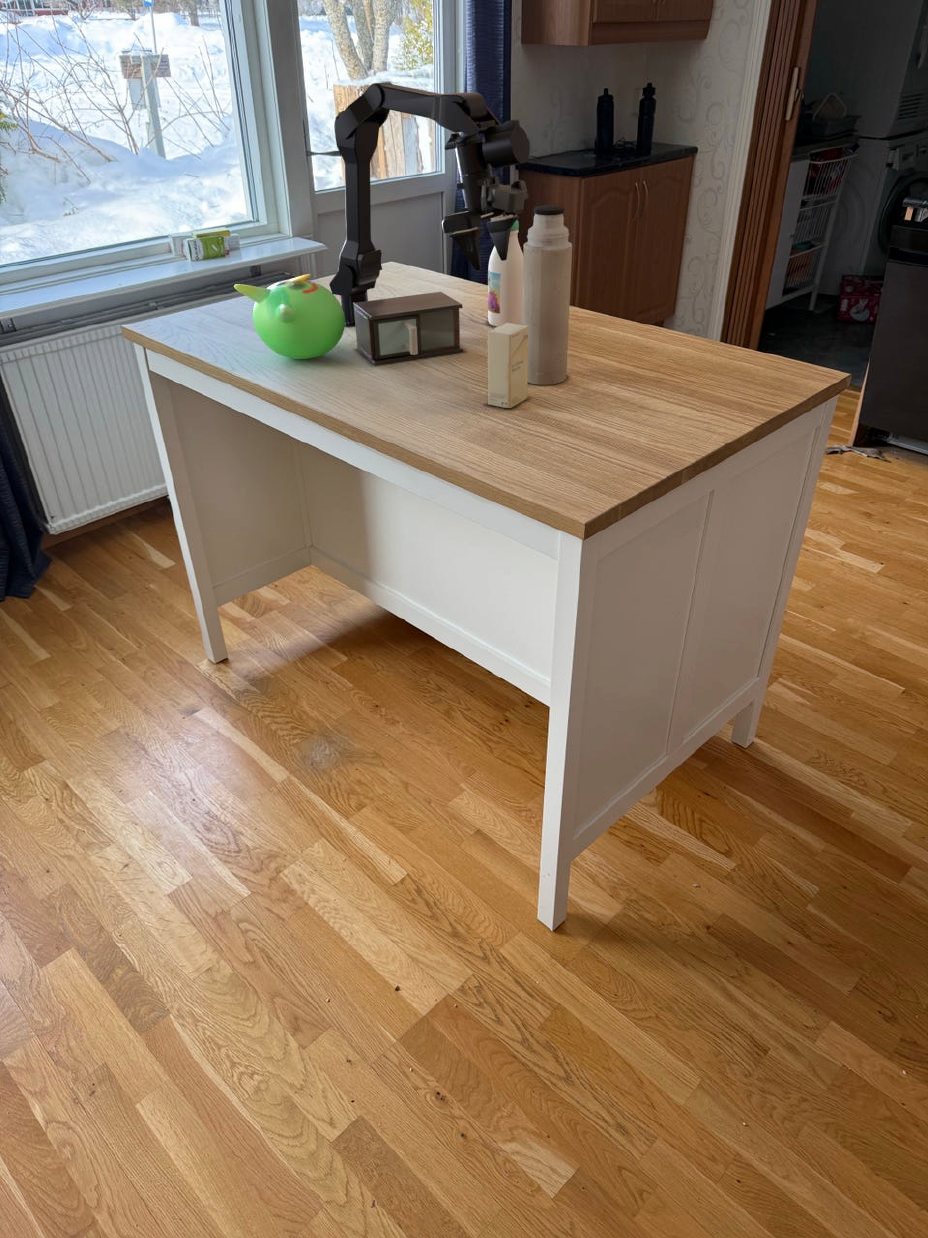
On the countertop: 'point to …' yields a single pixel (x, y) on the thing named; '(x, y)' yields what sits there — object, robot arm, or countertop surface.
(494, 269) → the milk bottle
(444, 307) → the cupboard
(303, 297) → the toy bird
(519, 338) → the cosmetic box
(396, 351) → the glass door
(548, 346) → the thermos bottle
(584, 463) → the countertop surface
